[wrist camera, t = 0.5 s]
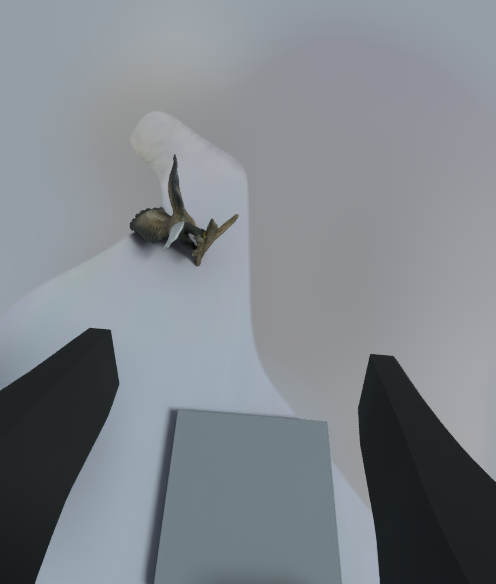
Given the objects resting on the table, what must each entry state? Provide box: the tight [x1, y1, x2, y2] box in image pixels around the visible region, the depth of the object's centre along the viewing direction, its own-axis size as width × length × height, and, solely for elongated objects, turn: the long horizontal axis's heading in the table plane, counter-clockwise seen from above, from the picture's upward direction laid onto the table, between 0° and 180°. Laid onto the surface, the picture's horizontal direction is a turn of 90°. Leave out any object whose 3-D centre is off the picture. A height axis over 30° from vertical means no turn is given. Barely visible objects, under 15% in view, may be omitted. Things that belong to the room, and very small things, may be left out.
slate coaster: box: [154, 410, 342, 584], centre depth 27 cm, size 10×10×1 cm
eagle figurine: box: [130, 154, 239, 266], centre depth 40 cm, size 8×7×9 cm
